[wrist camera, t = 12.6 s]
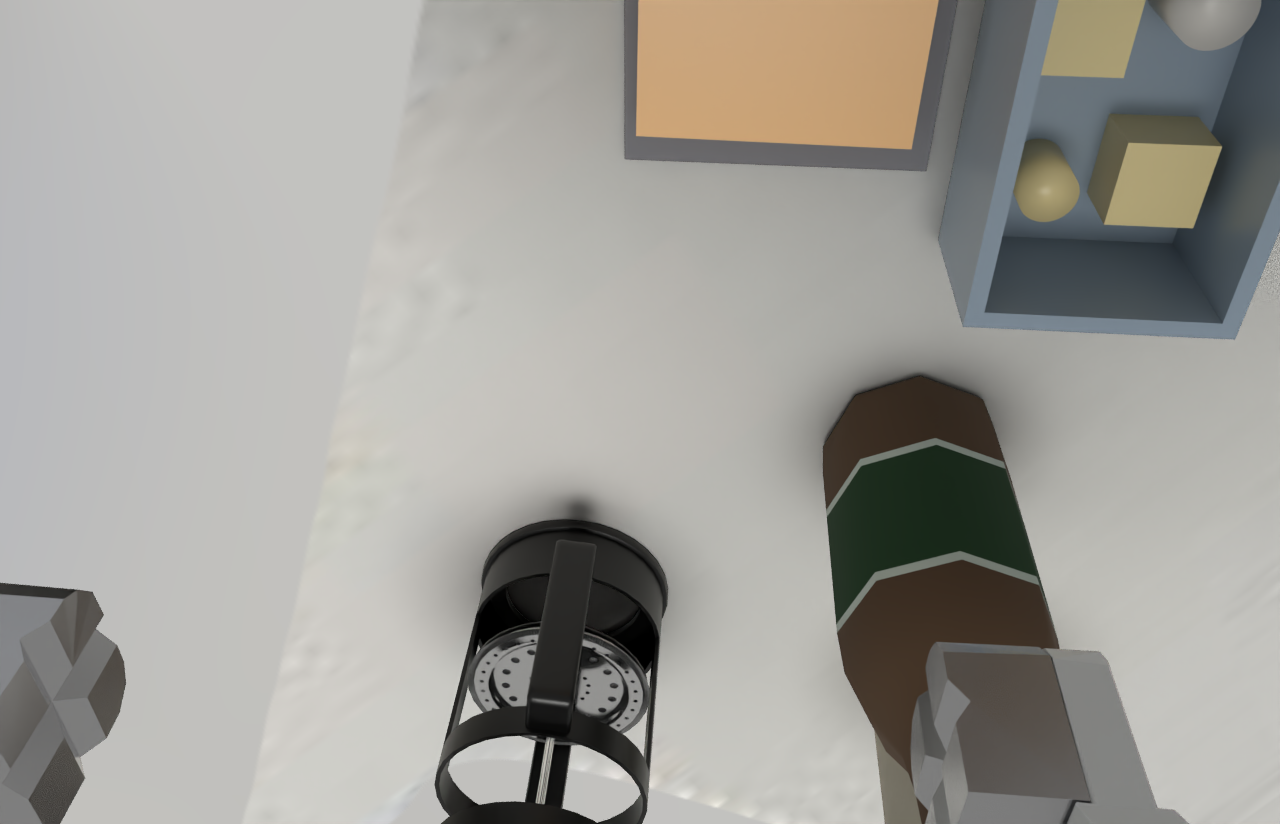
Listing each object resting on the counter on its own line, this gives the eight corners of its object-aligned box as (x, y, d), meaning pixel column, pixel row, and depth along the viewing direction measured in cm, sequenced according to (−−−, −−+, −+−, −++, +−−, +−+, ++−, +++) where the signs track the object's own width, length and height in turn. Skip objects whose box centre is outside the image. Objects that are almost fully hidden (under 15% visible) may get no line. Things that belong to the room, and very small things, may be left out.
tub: (1323, -161, 33) (1421, -113, 28) (1179, 250, 42) (1235, 339, 37) (1018, -168, 33) (1064, -122, 29) (938, 240, 42) (962, 326, 37)
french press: (655, 666, 59) (616, 1160, 41) (481, 644, 59) (363, 1128, 41) (684, 506, 52) (652, 1021, 33) (485, 481, 51) (345, 983, 33)
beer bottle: (986, 509, 50) (1134, 1083, 31) (814, 505, 51) (858, 1066, 32) (1016, 371, 45) (1210, 949, 27) (825, 368, 46) (884, 932, 27)
